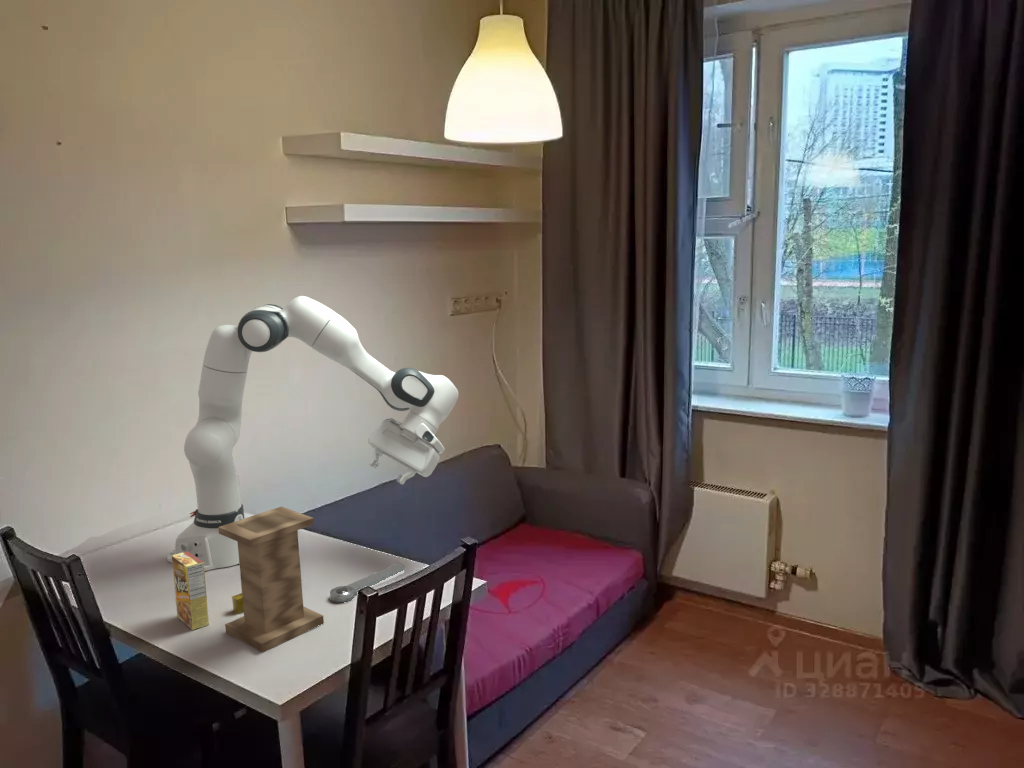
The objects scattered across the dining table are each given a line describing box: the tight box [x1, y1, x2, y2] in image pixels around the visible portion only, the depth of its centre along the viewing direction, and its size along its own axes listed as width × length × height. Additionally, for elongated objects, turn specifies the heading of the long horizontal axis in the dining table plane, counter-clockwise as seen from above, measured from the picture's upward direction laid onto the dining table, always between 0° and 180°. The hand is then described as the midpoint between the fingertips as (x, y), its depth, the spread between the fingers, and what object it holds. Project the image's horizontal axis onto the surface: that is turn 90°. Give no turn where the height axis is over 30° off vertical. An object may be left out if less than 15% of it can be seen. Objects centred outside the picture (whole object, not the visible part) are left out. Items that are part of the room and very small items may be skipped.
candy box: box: [171, 551, 210, 631], centre depth 189 cm, size 9×4×15 cm, turn 43°
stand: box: [218, 506, 325, 653], centre depth 184 cm, size 16×14×25 cm
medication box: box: [231, 592, 244, 615], centre depth 199 cm, size 12×3×4 cm, turn 135°
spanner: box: [329, 563, 406, 604], centre depth 207 cm, size 22×6×2 cm, turn 140°
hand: (385, 474), depth 215 cm, fingers open, 8 cm apart
